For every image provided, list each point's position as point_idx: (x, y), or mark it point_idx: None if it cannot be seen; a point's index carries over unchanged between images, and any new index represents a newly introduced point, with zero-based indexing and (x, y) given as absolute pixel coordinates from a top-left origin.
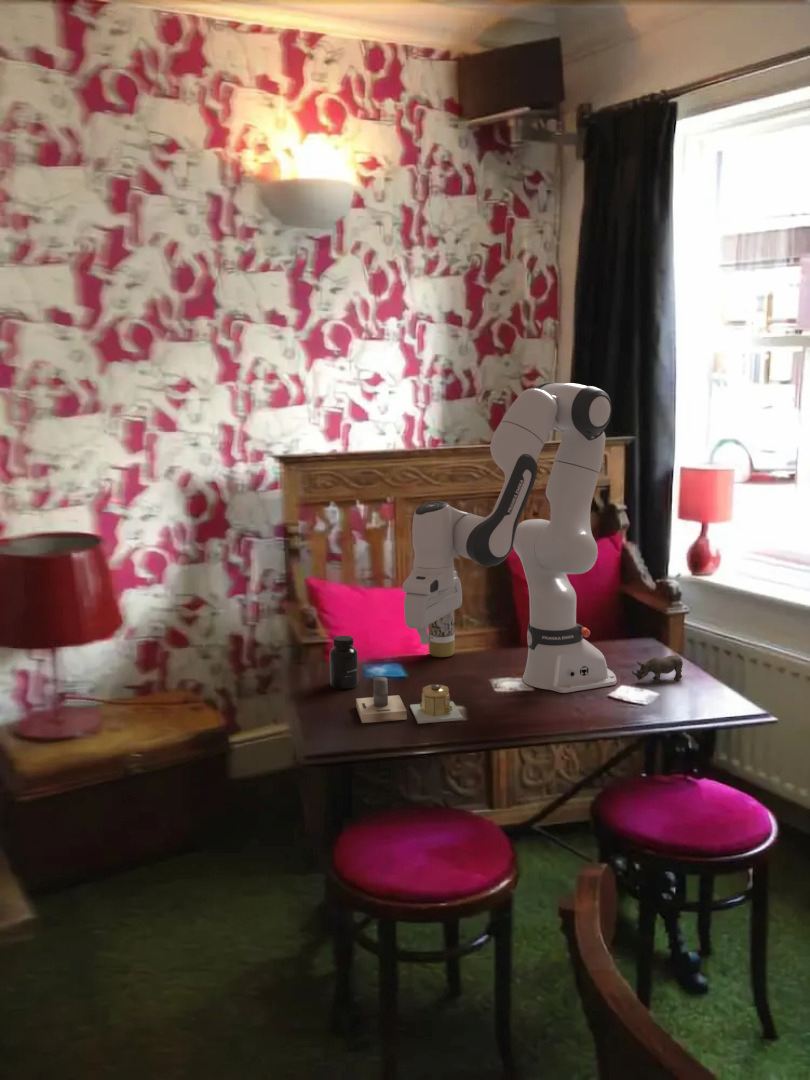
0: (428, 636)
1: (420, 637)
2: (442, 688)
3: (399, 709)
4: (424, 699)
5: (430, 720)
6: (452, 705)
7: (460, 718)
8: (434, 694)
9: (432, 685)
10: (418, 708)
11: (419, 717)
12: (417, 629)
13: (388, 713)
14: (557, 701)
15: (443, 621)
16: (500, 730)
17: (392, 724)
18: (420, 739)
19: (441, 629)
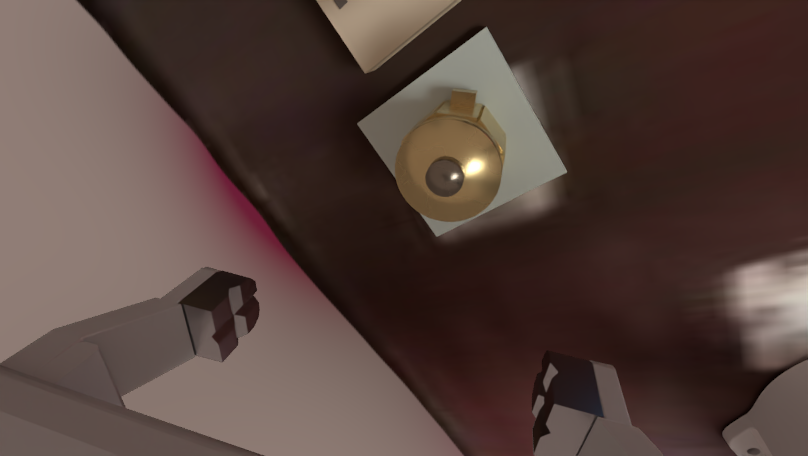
0: (195, 353)
1: (171, 294)
2: (460, 197)
3: (365, 39)
4: (407, 133)
5: (380, 156)
6: (523, 183)
7: (433, 230)
8: (399, 183)
9: (439, 167)
10: (459, 78)
11: (384, 116)
12: (52, 339)
13: (325, 10)
14: (649, 419)
15: (607, 441)
16: (408, 323)
17: (318, 41)
18: (272, 168)
19: (547, 363)
